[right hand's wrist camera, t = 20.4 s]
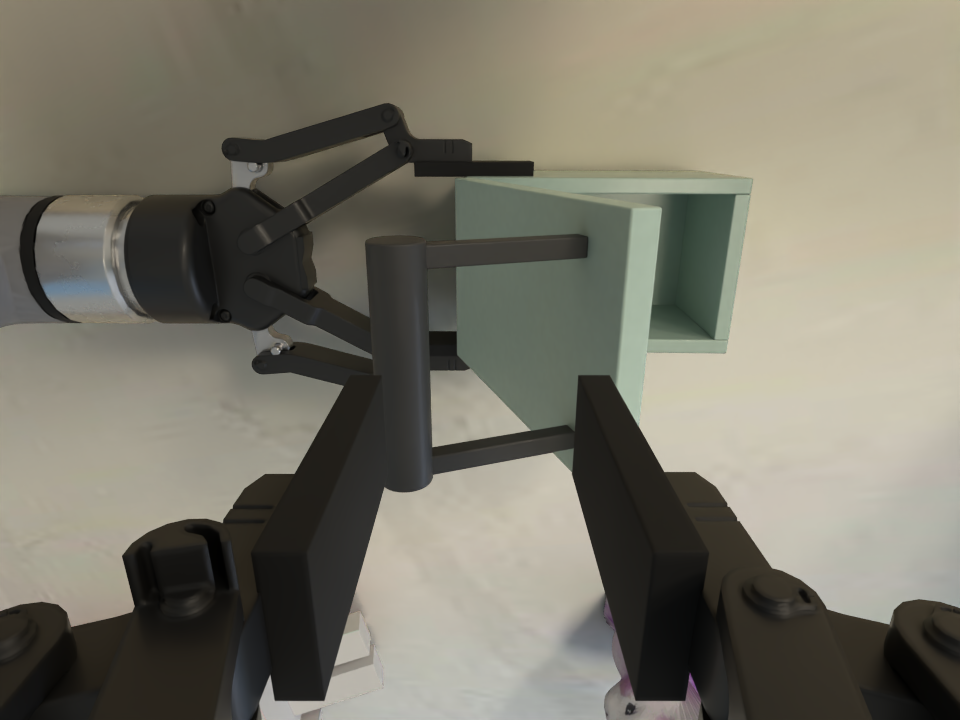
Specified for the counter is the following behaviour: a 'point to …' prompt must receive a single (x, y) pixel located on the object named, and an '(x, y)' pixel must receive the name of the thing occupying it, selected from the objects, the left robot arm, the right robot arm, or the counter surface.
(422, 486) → the lid
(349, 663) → the toy
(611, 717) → the figurine
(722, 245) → the chest
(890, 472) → the counter surface
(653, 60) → the counter surface
